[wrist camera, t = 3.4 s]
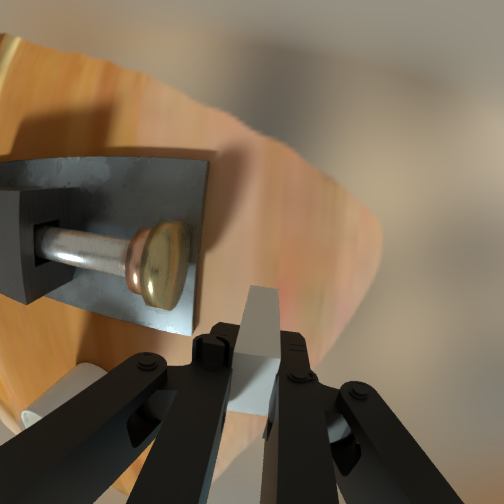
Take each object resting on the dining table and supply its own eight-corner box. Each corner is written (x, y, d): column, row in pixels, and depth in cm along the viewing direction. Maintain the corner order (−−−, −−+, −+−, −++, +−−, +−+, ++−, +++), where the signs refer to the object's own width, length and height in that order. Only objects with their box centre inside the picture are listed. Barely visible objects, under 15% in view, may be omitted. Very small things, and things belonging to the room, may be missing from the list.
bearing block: (209, 162, 23) (178, 148, 15) (194, 331, 26) (166, 384, 18) (-10, 164, 24) (-53, 166, 16) (-8, 271, 28) (-47, 287, 19)
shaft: (193, 216, 22) (163, 227, 16) (187, 292, 24) (160, 326, 17) (23, 200, 23) (-18, 206, 17) (24, 255, 25) (-14, 270, 18)
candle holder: (64, 347, 29) (9, 396, 17) (125, 369, 28) (76, 436, 17) (79, 400, 31) (39, 449, 19) (135, 421, 31) (101, 483, 19)
